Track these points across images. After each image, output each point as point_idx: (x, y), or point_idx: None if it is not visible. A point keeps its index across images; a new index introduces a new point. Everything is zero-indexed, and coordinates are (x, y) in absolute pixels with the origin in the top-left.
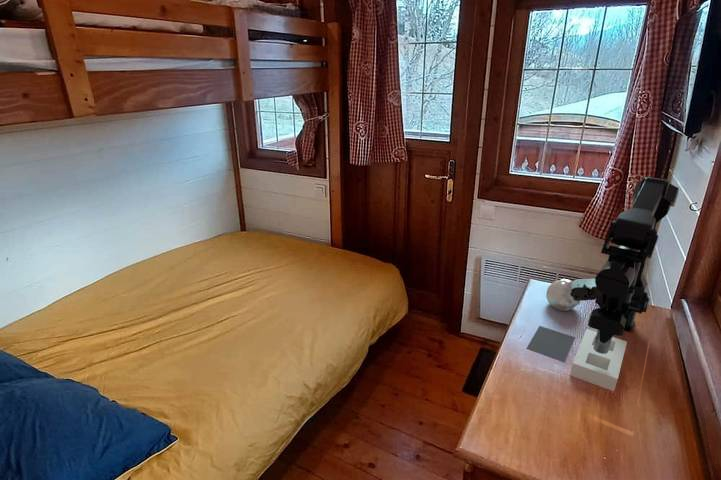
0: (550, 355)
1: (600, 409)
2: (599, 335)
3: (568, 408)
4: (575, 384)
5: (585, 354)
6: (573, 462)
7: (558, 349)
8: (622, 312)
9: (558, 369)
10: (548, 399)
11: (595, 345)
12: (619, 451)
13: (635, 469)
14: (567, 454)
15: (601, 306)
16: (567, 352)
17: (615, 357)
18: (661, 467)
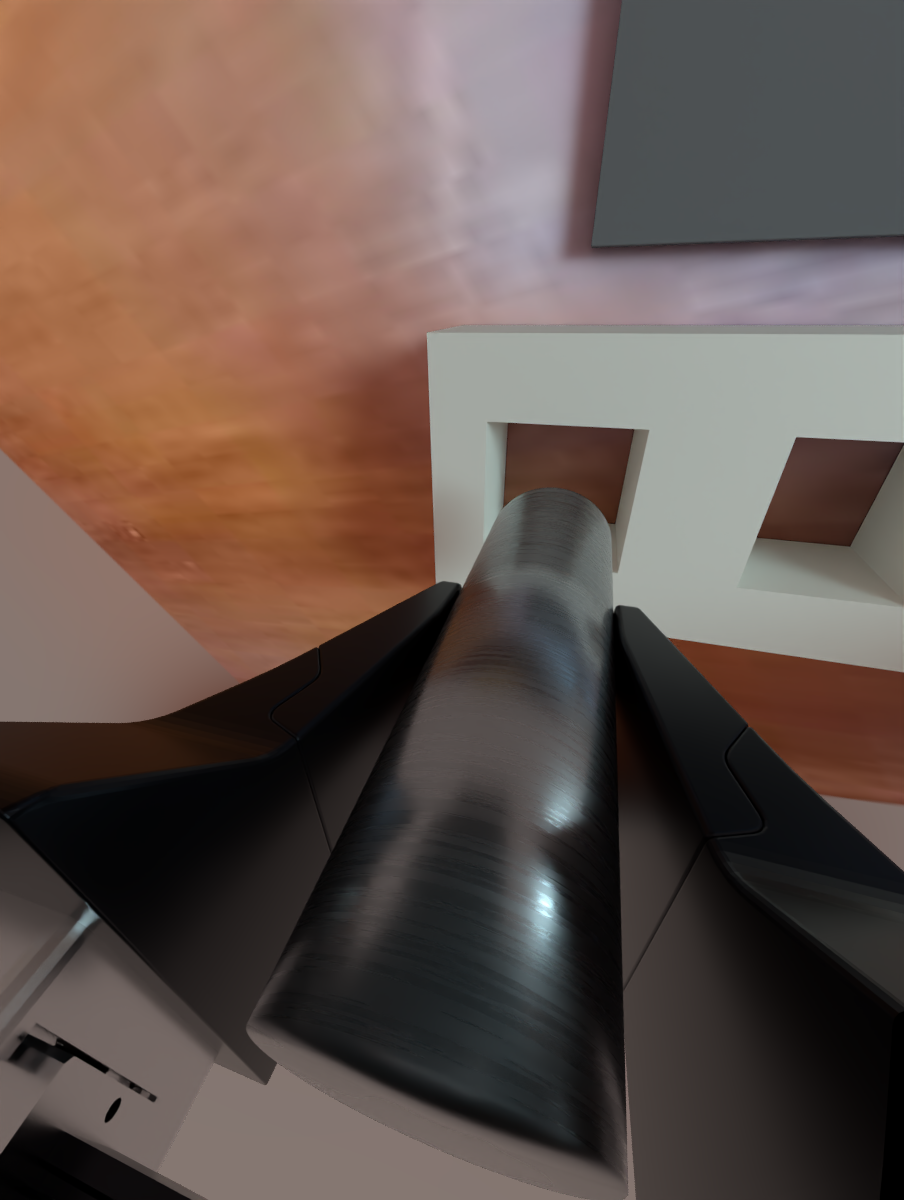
0: (641, 70)
1: (325, 510)
2: (385, 611)
3: (227, 380)
4: (418, 376)
5: (602, 408)
6: (34, 448)
7: (788, 114)
8: (645, 1163)
9: (505, 223)
10: (202, 259)
11: (506, 517)
12: (191, 571)
13: (171, 606)
14: (39, 425)
15: (828, 1050)
16: (758, 226)
17: (661, 600)
18: (231, 660)
